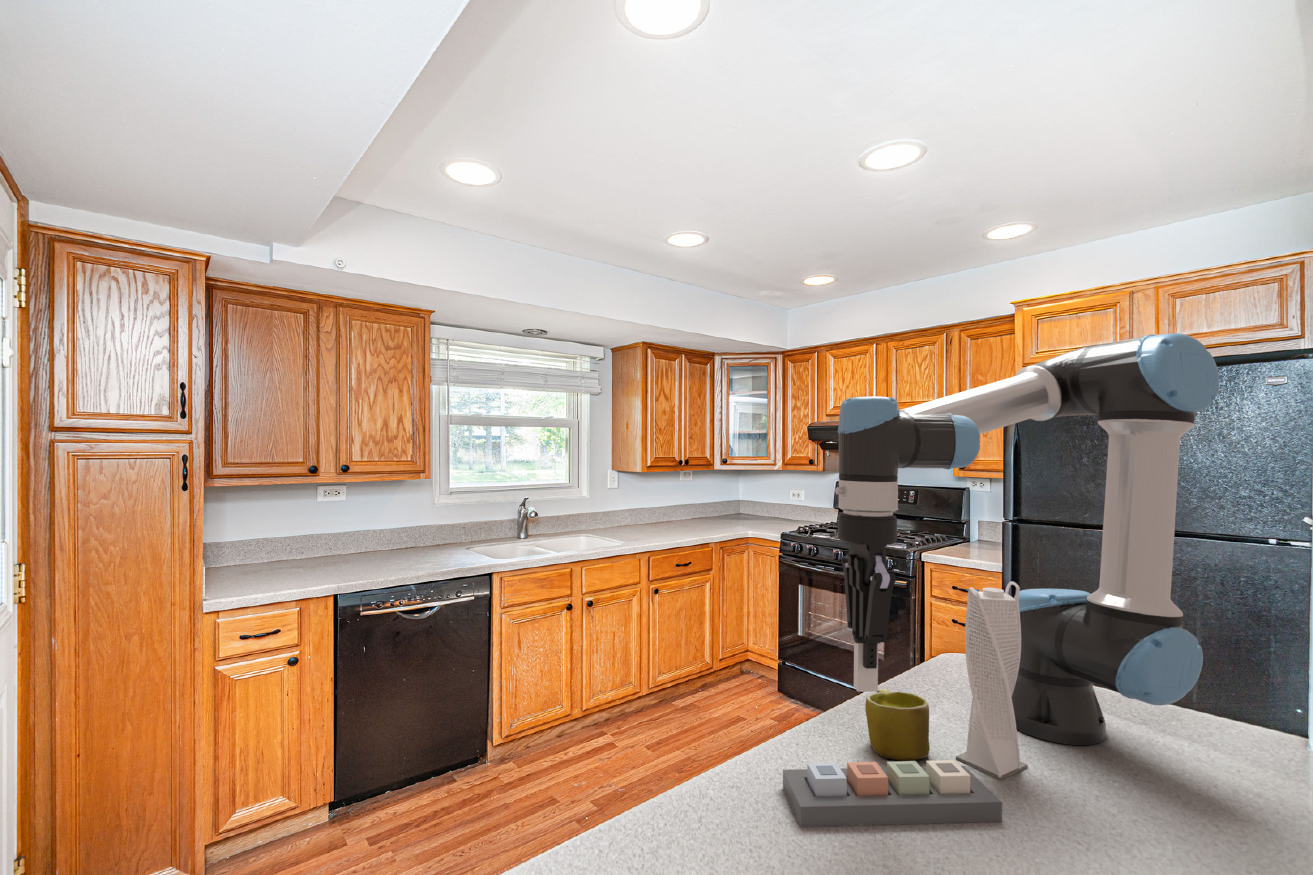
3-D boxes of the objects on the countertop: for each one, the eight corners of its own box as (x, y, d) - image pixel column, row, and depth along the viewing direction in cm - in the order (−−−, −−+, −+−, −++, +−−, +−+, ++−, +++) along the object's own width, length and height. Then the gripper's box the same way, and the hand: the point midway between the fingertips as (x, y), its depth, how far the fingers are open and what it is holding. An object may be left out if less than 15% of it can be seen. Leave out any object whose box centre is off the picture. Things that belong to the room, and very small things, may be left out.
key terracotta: (876, 783, 86) (876, 760, 86) (888, 800, 82) (888, 776, 82) (847, 784, 86) (847, 761, 86) (857, 801, 82) (857, 777, 82)
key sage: (915, 782, 87) (915, 760, 87) (929, 799, 83) (929, 775, 83) (886, 783, 86) (886, 760, 86) (899, 800, 82) (899, 776, 82)
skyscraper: (1037, 771, 93) (1037, 580, 93) (1006, 786, 89) (1005, 587, 89) (982, 747, 100) (982, 570, 100) (951, 760, 96) (951, 576, 96)
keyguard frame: (964, 783, 89) (964, 765, 89) (1002, 821, 80) (1002, 801, 80) (782, 787, 88) (782, 769, 88) (800, 826, 79) (800, 806, 79)
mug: (950, 760, 92) (925, 689, 95) (880, 775, 94) (857, 705, 97) (936, 739, 104) (914, 676, 106) (874, 752, 106) (854, 691, 108)
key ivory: (954, 781, 87) (954, 759, 87) (970, 798, 83) (970, 774, 83) (926, 782, 87) (926, 759, 87) (940, 799, 83) (940, 775, 83)
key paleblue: (836, 784, 86) (836, 761, 86) (846, 801, 82) (846, 777, 82) (807, 785, 86) (807, 762, 86) (816, 802, 82) (816, 778, 82)
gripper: (824, 507, 91) (822, 671, 91) (857, 518, 78) (855, 710, 78) (875, 507, 91) (874, 671, 91) (917, 518, 78) (915, 709, 78)
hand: (865, 689), depth 84 cm, fingers closed
